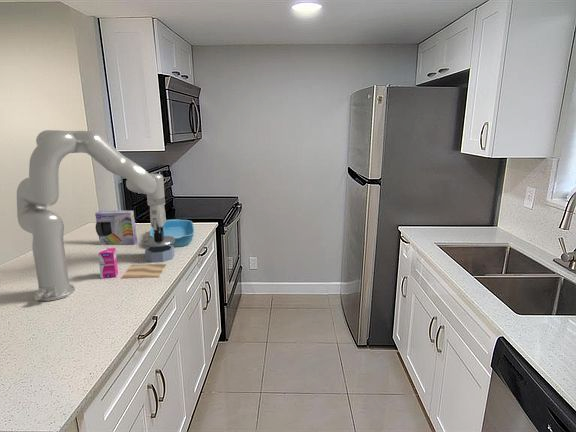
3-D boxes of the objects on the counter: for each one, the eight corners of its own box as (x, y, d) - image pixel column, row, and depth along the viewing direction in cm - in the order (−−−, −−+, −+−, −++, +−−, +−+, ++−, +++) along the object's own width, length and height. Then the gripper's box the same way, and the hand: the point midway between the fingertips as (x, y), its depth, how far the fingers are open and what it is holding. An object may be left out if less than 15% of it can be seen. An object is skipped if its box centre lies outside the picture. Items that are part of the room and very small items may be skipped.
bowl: (171, 262, 168) (170, 252, 166) (143, 263, 166) (142, 252, 165) (175, 253, 179) (175, 244, 178) (150, 254, 178) (149, 244, 177)
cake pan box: (97, 245, 190) (93, 212, 186) (101, 242, 195) (97, 209, 191) (134, 245, 191) (131, 212, 186) (138, 242, 196) (135, 210, 191)
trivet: (158, 278, 150) (158, 277, 150) (120, 279, 149) (120, 278, 149) (166, 264, 165) (166, 263, 165) (131, 265, 163) (131, 264, 163)
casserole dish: (195, 248, 188) (195, 235, 186) (149, 252, 181) (148, 238, 180) (192, 229, 222) (192, 218, 220) (153, 231, 216) (152, 220, 214)
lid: (172, 246, 165) (171, 235, 164) (139, 247, 163) (138, 236, 162) (177, 237, 178) (177, 226, 177) (147, 237, 177) (147, 227, 175)
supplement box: (100, 279, 148) (97, 253, 145) (103, 274, 154) (100, 248, 151) (116, 278, 150) (113, 252, 147) (118, 273, 155) (115, 247, 152)
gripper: (160, 205, 159) (163, 245, 163) (168, 197, 174) (171, 234, 179) (142, 205, 158) (146, 245, 162) (152, 197, 174) (155, 234, 178)
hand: (159, 239), depth 170 cm, fingers closed on lid, 3 cm apart
